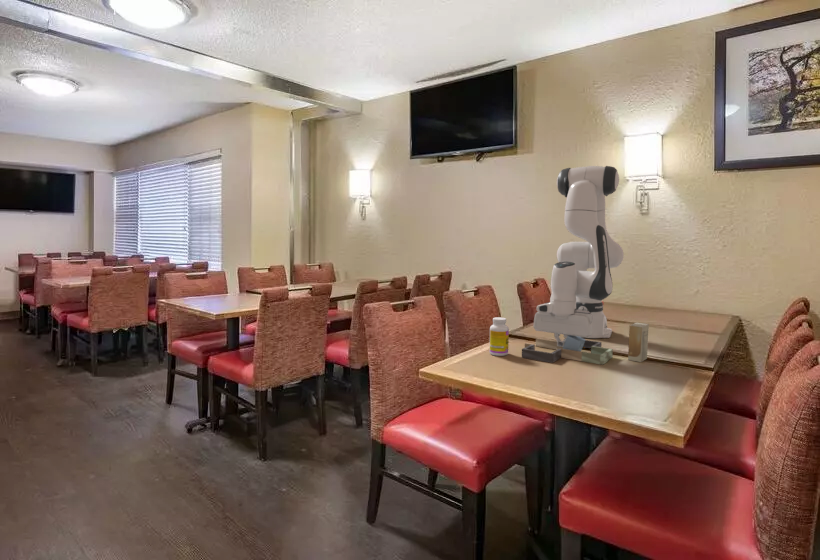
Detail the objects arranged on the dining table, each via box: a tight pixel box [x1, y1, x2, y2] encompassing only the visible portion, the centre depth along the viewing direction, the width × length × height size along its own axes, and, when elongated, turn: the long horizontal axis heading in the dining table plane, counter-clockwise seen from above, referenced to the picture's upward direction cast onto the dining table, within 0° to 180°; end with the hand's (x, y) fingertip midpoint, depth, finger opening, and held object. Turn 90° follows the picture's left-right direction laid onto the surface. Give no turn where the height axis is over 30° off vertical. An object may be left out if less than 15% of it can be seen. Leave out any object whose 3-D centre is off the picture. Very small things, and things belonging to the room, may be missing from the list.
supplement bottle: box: [488, 316, 510, 357], centre depth 171 cm, size 7×7×13 cm
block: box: [563, 335, 586, 352], centre depth 169 cm, size 5×5×6 cm
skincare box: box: [627, 322, 650, 363], centre depth 163 cm, size 6×4×12 cm
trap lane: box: [521, 337, 614, 366], centre depth 170 cm, size 27×28×3 cm
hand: (561, 346), depth 171 cm, fingers closed
